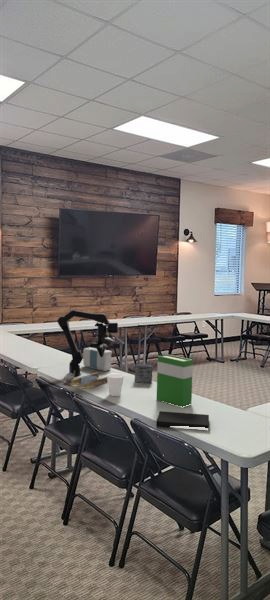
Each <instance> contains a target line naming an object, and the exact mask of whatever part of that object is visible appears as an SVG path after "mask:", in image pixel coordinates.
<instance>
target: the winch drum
mask: <svg viewBox="0 0 270 600" xmlns="http://www.w3.org/2000/svg"><path fill="white" fill-rule="evenodd" d="M74 375H76V374H75V371H74V374H73V373H69V372H68V373H66V375H65V376H66V377H65V378H66V379H65V380H66V381H65V382H66V383H67V384H71V380H72V379H75V376H74Z"/></svg>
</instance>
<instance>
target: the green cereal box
mask: <svg viewBox="0 0 270 600" xmlns="http://www.w3.org/2000/svg"><path fill="white" fill-rule="evenodd" d="M193 365H194V359H191V358H187V357H181V356H178V355H173V354H168V353H166V354H165V355H163V356H162V355H158V356H157V371H156V372H157V373H156V376H157V377H156V401H158V400H160V401H159V402H161V401H164V402H167V403H166V404H168V403H171V404H174V405H178V406H182V407H183V406H186V405H189V404H191V405H192V396H193V395H192V392H193V370H194V369H193V367H194V366H193ZM164 402H163V403H164ZM171 404H170V405H171ZM174 405H173V406H174Z"/></svg>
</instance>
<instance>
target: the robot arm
mask: <svg viewBox="0 0 270 600" xmlns="http://www.w3.org/2000/svg"><path fill="white" fill-rule="evenodd" d="M74 317H75V318H82V319H87V320H93V321H95V322H96V323H95V324H94V326H95V327H97V334H95V335H96V338H97V340H96V341H95V342H90V343H89V345H88V348H89V347H90V348H96V349H97V350H98V352H99V355H100V357H103V354H104V351H105V350H107V348H108V347H111V346H113V345H115V343H116V339H115V337H114V336H113V337H112V336H111V337H109V335H108V334H107V332H108V333H109V334H119V327H118V325H119V323H118V322H110V320H109V319H108V317H107V314H105V313H104V312H98V313H97V312H96V313H92V312H86V311H81V310H76V309H72V310H71V311H70V312H68V313H67V314H65V315H61V316H60V317H58V319H57V324H58V326H59V328H60V329H61V330H62V331H63V333H64V336H65V339H66V341H67V343H68V346H69V349H70V351H71V352H70V353H71V358H72V359H71V360H70V362H69V366H68V369H69V371H68V373H73V374H74V371H75V374H76V375H74V377H79V376H81V375H82V373H81V366H80V364H81V363H82V361H83V352H82V349H80V350H79V348H78V347H77V345H76V342H75V340H74V337H73V334H72V331H71V329H70V324H69V323H70V322H69V320H71V319H73V318H74Z"/></svg>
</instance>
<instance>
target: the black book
mask: <svg viewBox="0 0 270 600" xmlns="http://www.w3.org/2000/svg"><path fill="white" fill-rule="evenodd" d="M157 415H158V417H157V419H156V424H155V425H156V428H163V429H164V428H166V429H170V428H169V427H170V426H189V427H205V428H209V429H210V420H209V419H210V416H209V414H202V413H191V412H190V413H189V412H188V413H187V412H179V411H177V412H175V411H163V410H159V412H158V414H157Z"/></svg>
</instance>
